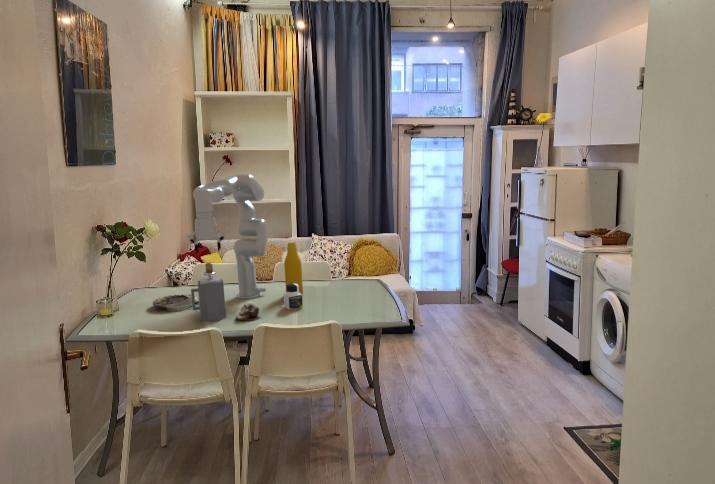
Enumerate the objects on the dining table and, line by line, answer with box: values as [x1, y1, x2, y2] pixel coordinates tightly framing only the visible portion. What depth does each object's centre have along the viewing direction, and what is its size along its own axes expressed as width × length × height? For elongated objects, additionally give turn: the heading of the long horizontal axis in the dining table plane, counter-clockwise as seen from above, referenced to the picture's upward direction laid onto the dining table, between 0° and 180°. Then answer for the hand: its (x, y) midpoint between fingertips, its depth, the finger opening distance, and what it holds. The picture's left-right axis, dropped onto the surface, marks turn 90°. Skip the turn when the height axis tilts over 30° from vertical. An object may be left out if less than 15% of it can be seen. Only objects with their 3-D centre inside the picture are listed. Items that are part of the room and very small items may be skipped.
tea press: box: [190, 275, 227, 323], centre depth 261 cm, size 15×12×19 cm
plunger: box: [203, 262, 217, 284], centre depth 260 cm, size 8×8×23 cm
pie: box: [152, 293, 200, 313], centre depth 286 cm, size 28×27×5 cm
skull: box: [235, 301, 262, 322], centre depth 261 cm, size 12×10×10 cm
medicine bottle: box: [283, 283, 304, 311], centre depth 274 cm, size 7×7×12 cm
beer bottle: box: [283, 241, 304, 295], centre depth 297 cm, size 9×9×29 cm
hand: (208, 251), depth 258 cm, fingers open, 9 cm apart
